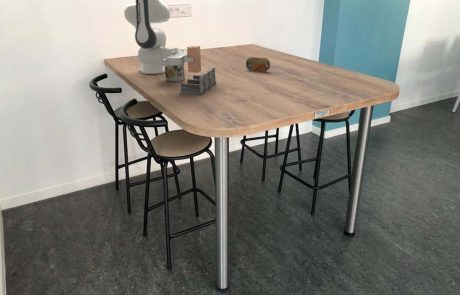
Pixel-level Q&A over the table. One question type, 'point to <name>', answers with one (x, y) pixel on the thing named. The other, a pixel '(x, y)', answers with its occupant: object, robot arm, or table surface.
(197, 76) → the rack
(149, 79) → the table surface
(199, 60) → the tall salmon pillar
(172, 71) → the coffee box
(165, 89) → the table surface
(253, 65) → the tin
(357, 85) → the table surface
